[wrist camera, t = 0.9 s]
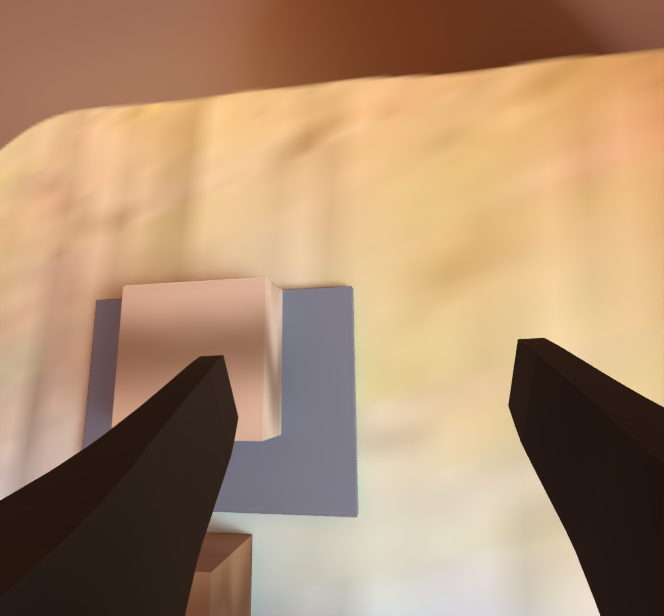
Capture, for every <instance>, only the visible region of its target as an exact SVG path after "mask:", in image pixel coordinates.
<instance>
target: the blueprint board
mask: <svg viewBox="0 0 664 616" xmlns="http://www.w3.org/2000/svg"><path fill="white" fill-rule="evenodd" d="M215 355H224V359H225V363H226V368H227V372H228V376H229V380H230V384H231V388H232V392H233V397H234V401H235V405H236V409H237V413H238V417H239V418H238V424H237V429H236V435H235V440H234V445H233V450H232V455H231V458H230V461H229V464H228V467H227V470H226V474H225V477H224V480H223V483H222V486H221V489H220V492H219V495H218V498H217V501H216V504H215V507H214V510H213V512H235V513H261V514H287V515H313V516H339V517H357V515H358V486H357V441H356V397H355V352H354V307H353V288H352V286H348V287H329V288H311V289H292V290H282V289H281V288H279V287H278V286H277V285H275V284H274V283H273V282H272V281H270V280H269V279H268V278H267V277H253V278H236V279H220V280H203V281H187V282H170V283H154V284H137V285H123V295H122V299H109V300H97V301H96V312H95V323H94V333H93V344H92V355H91V365H90V376H89V387H88V397H87V408H86V419H85V429H84V440H83V449H84V448H86V447H87V446H89V445H90V444H92V443H93V442H94V441H96V440H97V439H99V438H100V437H101V436H103V435H104V434H105V433H107V432H108V431H109V430H110V429H112V428H113V427H114V426H116V425H117V424H118V423H119V422H121V421H122V420H123V419H125V418H126V417H127V416H128V415H130V414H131V413H132V412H133V411H135V410H136V409H137V408H139V407H140V406H141V405H142V404H143V403H145V402H146V401H147V400H148V399H149V398H151V397H152V396H153V395H154V394H155V393H156V392H158V391H159V390H160V389H161V388H162V387H164V386H165V385H166V384H167V383H168V382H169V381H171V380H172V379H173V378H174V377H175V376H176V375H177V374H179V373H180V372H181V371H182V370H183V369H184V368H186V367H187V366H188V365H189V364H190V363H192V362H193V361H194V360H196V359H197V358H198V357H200V356H215Z"/></svg>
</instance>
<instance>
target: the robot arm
mask: <svg viewBox="0 0 664 616" xmlns="http://www.w3.org/2000/svg"><path fill="white" fill-rule="evenodd" d="M508 406H509V409H510V412H511V415H512V418H513V421H514V424H515V427H516V430H517V432H518V435H519V438H520V441H521V443H522V445H523V447H524V449H525V451H526V453H527V455H528V457H529V459H530V461H531V463H532V465H533V467H534V469H535V471H536V473H537V475H538V477H539V479H540V481H541V483H542V485H543V487H544V489H545V491H546V493H547V495H548V497H549V499H550V501H551V503H552V505H553V507H554V508H555V510H556V512H557V514H558V516H559V518H560V520H561V522H562V524H563V526H564V528H565V530H566V532H567V534H568V536H569V539H570V541H571V543H572V545H573V547H574V549H575V552H576V554H577V556H578V559H579V561H580V564H581V567H582V569H583V572H584V574H585V577H586V579H587V582H588V584H589V587H590V589H591V592H592V594H593V597H594V599H595V602H596V605H597V608H598V610H599V613H600V616H664V407H662V406H660V405H658V404H657V403H655V402H653V401H651V400H649V399H647V398H645V397H644V396H642V395H640V394H638V393H637V392H635V391H633V390H631V389H630V388H628V387H626V386H624V385H623V384H621V383H619V382H618V381H616V380H614V379H613V378H611V377H609V376H608V375H606V374H604V373H603V372H601V371H599V370H598V369H596V368H594V367H593V366H591V365H589V364H588V363H586V362H585V361H583V360H581V359H580V358H578V357H576V356H575V355H573V354H572V353H570V352H568V351H567V350H565V349H563V348H562V347H560V346H558V345H556V344H555V343H553V342H551V341H549V340H547V339H545V338H534V339H518V343H517V350H516V357H515V363H514V370H513V377H512V384H511V391H510V398H509V405H508ZM238 418H239V417H238V413H237V409H236V405H235V401H234V397H233V392H232V388H231V384H230V380H229V376H228V372H227V368H226V363H225V359H224V355H215V356H200V357H198V358H197V359H196V360H194V361H193V362H192V363H190V364H189V365H188V366H187V367H186V368H184V369H183V370H182V371H181V372H180V373H179V374H177V375H176V376H175V377H174V378H173V379H172V380H171V381H169V382H168V383H167V384H166V385H165V386H164V387H162V388H161V389H160V390H159V391H158V392H156V393H155V394H154V395H153V396H152V397H151V398H149V399H148V400H147V401H146V402H145V403H143V404H142V405H141V406H140V407H139V408H137V409H136V410H135V411H133V412H132V413H131V414H130V415H128V416H127V417H126V418H125V419H123V420H122V421H121V422H119V423H118V424H117V425H116V426H114V427H113V428H112V429H110V430H109V431H108V432H107V433H105V434H104V435H103V436H101V437H100V438H99V439H97V440H96V441H94V442H93V443H92V444H90V445H89V446H87V447H86V448H84V449H83V450H82V451H80V452H79V453H77V454H76V455H74V456H73V457H71V458H70V459H68V460H67V461H65V462H64V463H62V464H61V465H59V466H57V467H56V468H54V469H53V470H51V471H50V472H48V473H46V474H45V475H43V476H41V477H40V478H38V479H36V480H34V481H33V482H31V483H29V484H28V485H26V486H24V487H23V488H21V489H19V490H17V491H16V492H14V493H12V494H11V495H9V496H7V497H5V498H4V499H2V500H0V616H185V614H186V609H187V604H188V600H189V595H190V591H191V587H192V582H193V578H194V574H195V569H196V565H197V561H198V557H199V554H200V550H201V547H202V543H203V540H204V537H205V534H206V531H207V528H208V525H209V522H210V519H211V516H212V513H213V510H214V507H215V504H216V501H217V498H218V495H219V492H220V489H221V486H222V483H223V480H224V477H225V474H226V470H227V467H228V464H229V461H230V458H231V455H232V450H233V445H234V440H235V435H236V429H237V424H238Z"/></svg>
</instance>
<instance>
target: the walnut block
mask: <svg viewBox="0 0 664 616" xmlns="http://www.w3.org/2000/svg"><path fill="white" fill-rule="evenodd" d="M251 575H252V535H250V534H229V533H208V532H206V534H205V537H204V540H203V543H202V547H201V550H200V554H199V557H198V561H197V565H196V569H195V574H194V578H193V582H192V587H191V591H190V595H189V600H188V604H187V609H186V614H185V616H251Z"/></svg>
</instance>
